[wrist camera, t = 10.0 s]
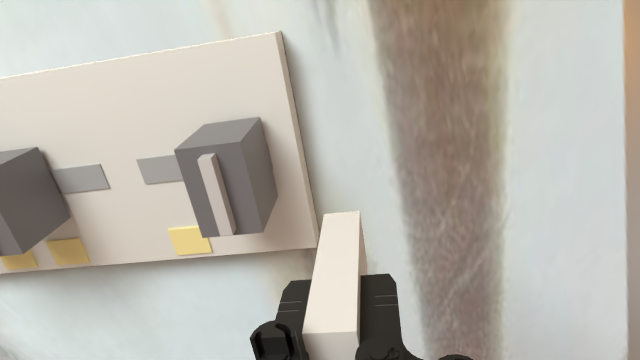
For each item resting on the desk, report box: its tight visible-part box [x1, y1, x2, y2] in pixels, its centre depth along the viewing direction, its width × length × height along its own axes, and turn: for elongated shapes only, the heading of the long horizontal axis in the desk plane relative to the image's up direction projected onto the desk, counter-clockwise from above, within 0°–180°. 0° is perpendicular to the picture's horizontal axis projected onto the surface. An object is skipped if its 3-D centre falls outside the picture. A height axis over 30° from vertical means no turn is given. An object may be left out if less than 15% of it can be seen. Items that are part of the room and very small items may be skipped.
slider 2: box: [174, 117, 278, 238], centre depth 26 cm, size 4×6×6 cm, turn 9°
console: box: [0, 30, 319, 274], centre depth 32 cm, size 36×16×2 cm, turn 99°
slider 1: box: [0, 147, 71, 256], centre depth 28 cm, size 4×6×6 cm, turn 9°
